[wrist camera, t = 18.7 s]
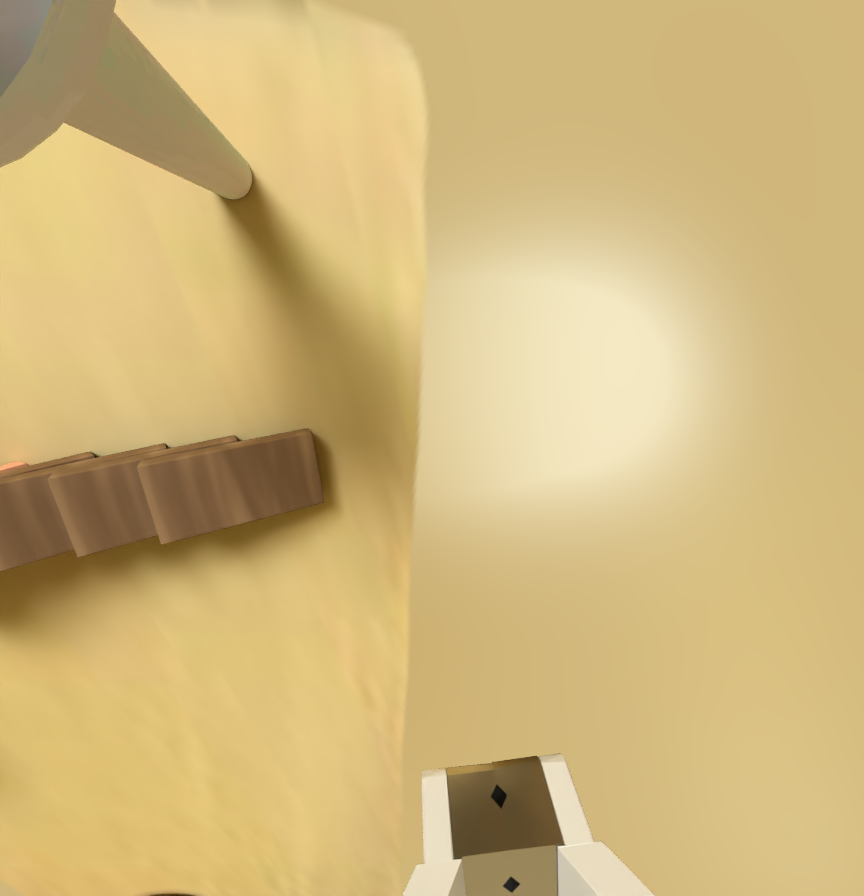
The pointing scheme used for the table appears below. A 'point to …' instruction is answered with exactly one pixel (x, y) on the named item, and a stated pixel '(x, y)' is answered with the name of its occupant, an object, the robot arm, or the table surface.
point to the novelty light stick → (103, 93)
